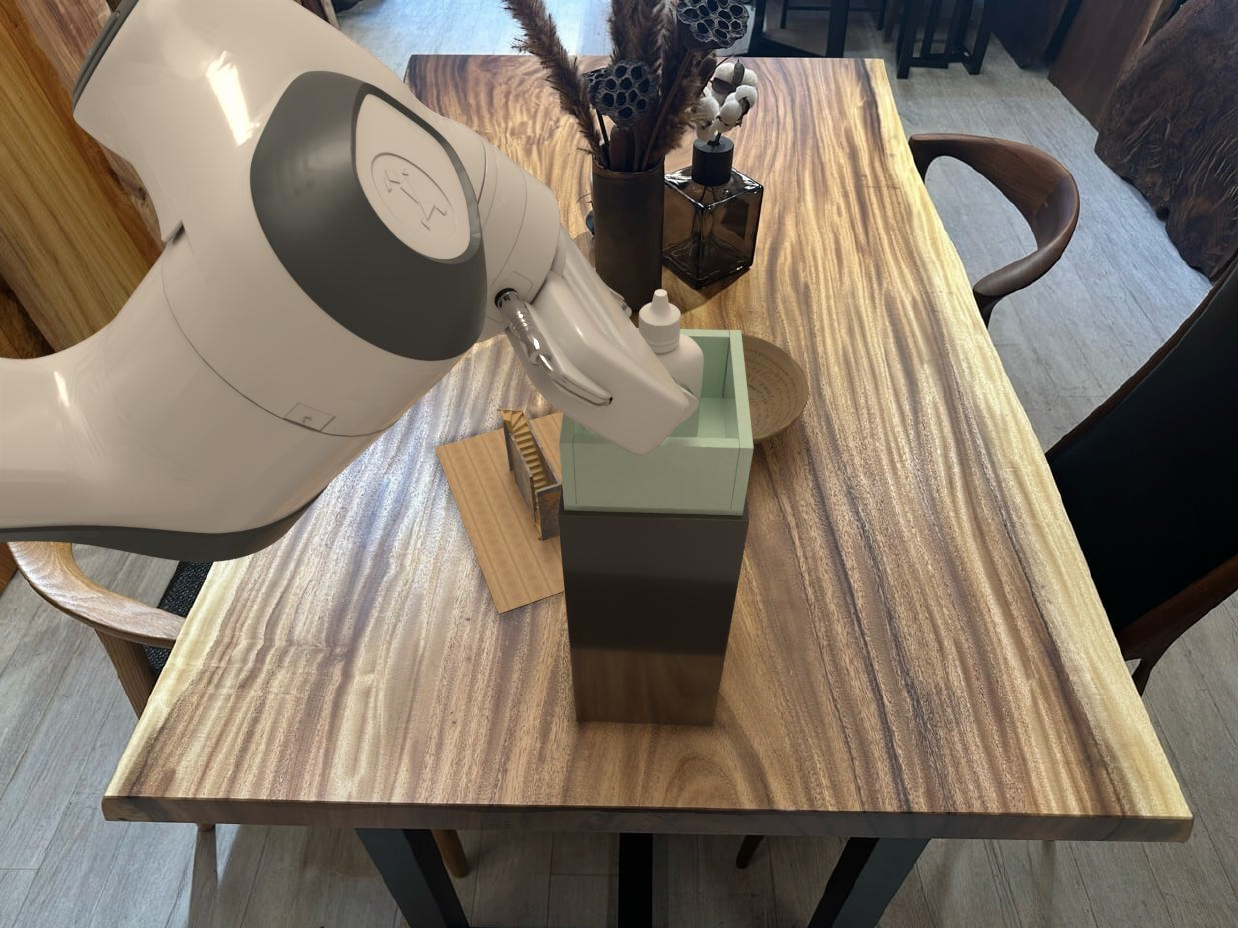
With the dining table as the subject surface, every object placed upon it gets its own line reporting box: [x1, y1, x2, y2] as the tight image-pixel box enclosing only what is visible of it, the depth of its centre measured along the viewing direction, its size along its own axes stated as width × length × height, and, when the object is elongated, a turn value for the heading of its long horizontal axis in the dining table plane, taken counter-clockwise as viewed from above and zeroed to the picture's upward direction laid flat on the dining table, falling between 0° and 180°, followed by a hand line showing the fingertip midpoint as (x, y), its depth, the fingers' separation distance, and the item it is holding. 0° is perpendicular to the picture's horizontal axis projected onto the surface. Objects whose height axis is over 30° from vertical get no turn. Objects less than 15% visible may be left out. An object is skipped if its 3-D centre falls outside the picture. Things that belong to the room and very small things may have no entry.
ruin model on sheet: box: [434, 408, 564, 615], centre depth 85 cm, size 25×16×10 cm, turn 23°
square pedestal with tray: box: [558, 327, 755, 727], centre depth 62 cm, size 12×12×34 cm
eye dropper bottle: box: [638, 288, 704, 437], centre depth 50 cm, size 4×6×12 cm
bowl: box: [741, 332, 810, 446], centre depth 93 cm, size 18×18×8 cm
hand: (651, 358), depth 48 cm, fingers open, 8 cm apart
